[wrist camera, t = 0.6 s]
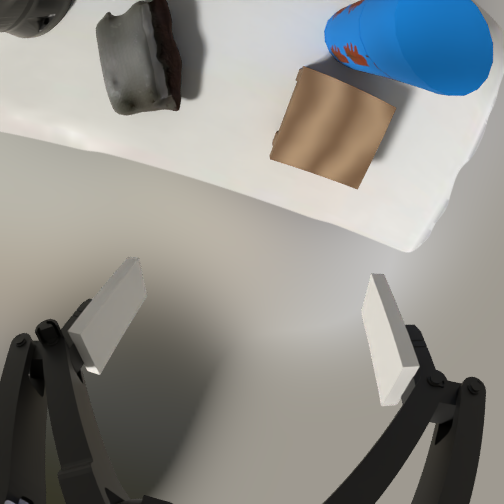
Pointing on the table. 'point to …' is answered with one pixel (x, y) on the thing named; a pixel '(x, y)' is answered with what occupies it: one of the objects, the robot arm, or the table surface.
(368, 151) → the small wooden stool
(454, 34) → the thermos
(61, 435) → the robot arm
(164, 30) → the rock
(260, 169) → the table surface
